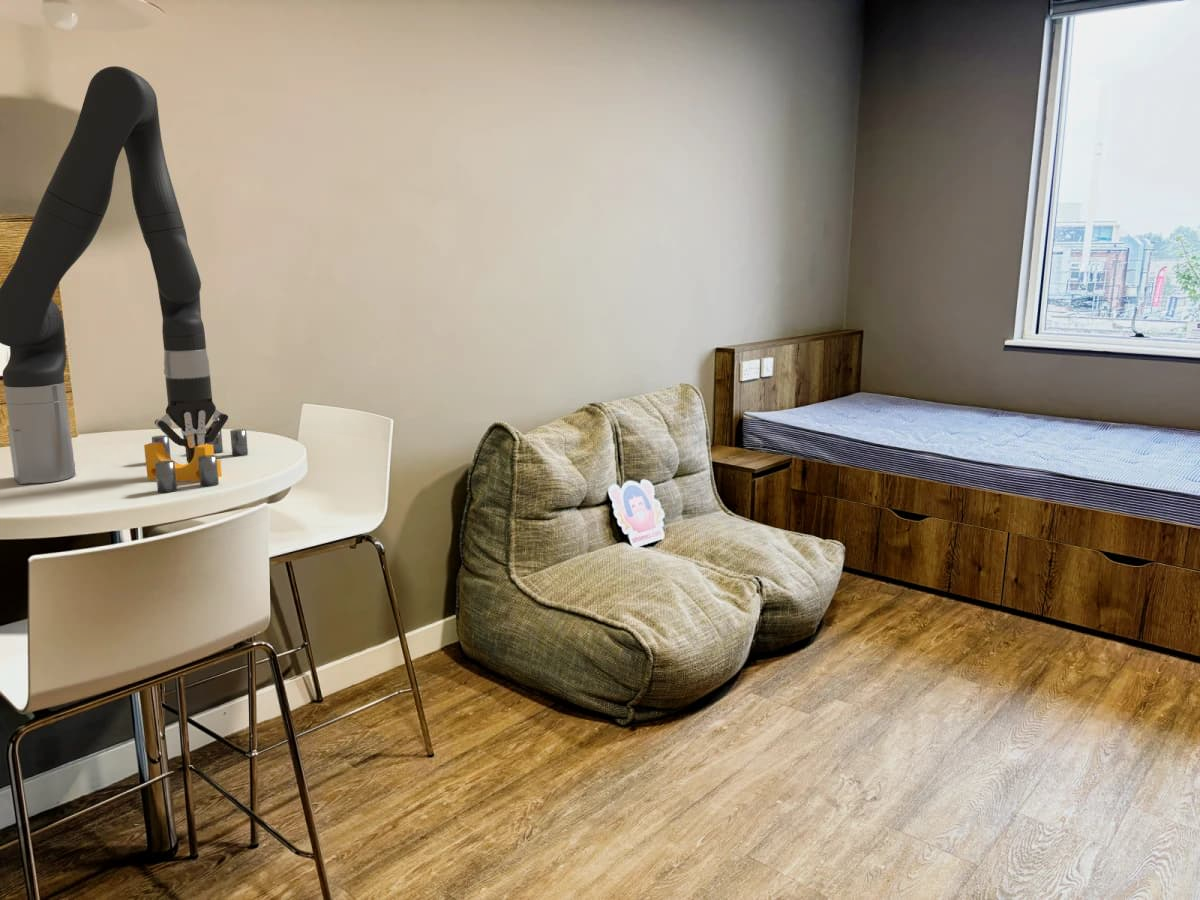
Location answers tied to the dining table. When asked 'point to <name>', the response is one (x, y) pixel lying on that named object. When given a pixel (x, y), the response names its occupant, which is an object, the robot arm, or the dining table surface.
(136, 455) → the dining table surface
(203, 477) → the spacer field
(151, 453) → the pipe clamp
